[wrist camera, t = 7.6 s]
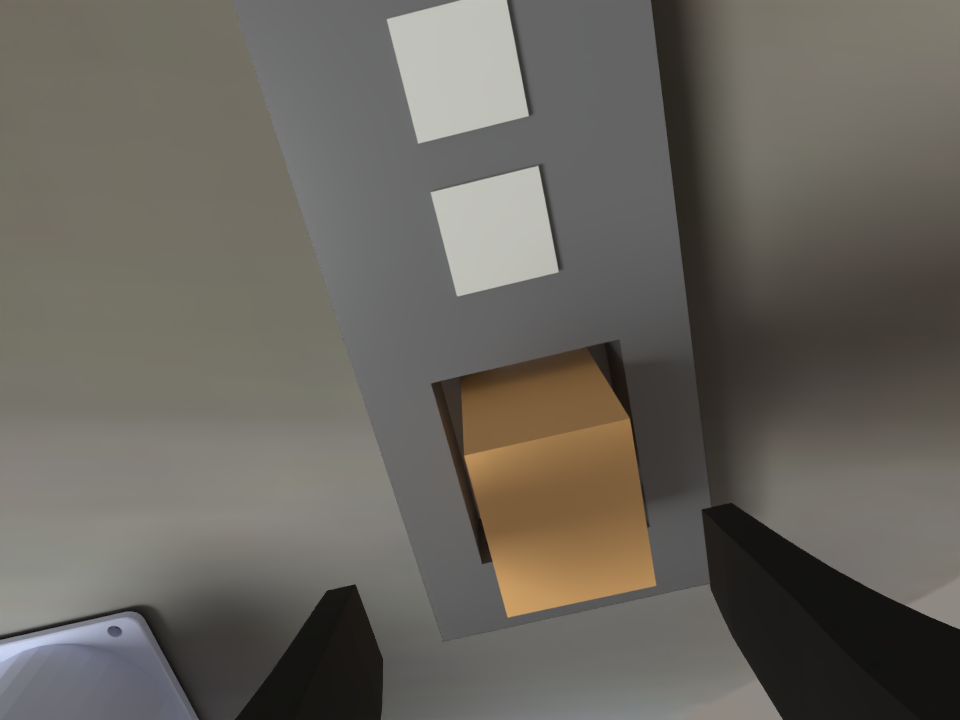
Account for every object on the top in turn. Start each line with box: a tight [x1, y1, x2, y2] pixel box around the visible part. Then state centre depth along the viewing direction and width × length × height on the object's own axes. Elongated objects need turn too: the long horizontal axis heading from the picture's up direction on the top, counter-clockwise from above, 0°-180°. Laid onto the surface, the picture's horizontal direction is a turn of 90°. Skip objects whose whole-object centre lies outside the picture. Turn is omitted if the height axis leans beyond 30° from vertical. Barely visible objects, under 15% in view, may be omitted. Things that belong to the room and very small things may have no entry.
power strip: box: [232, 0, 711, 642], centre depth 19 cm, size 10×20×3 cm, turn 13°
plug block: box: [461, 347, 656, 617], centre depth 19 cm, size 4×5×6 cm
